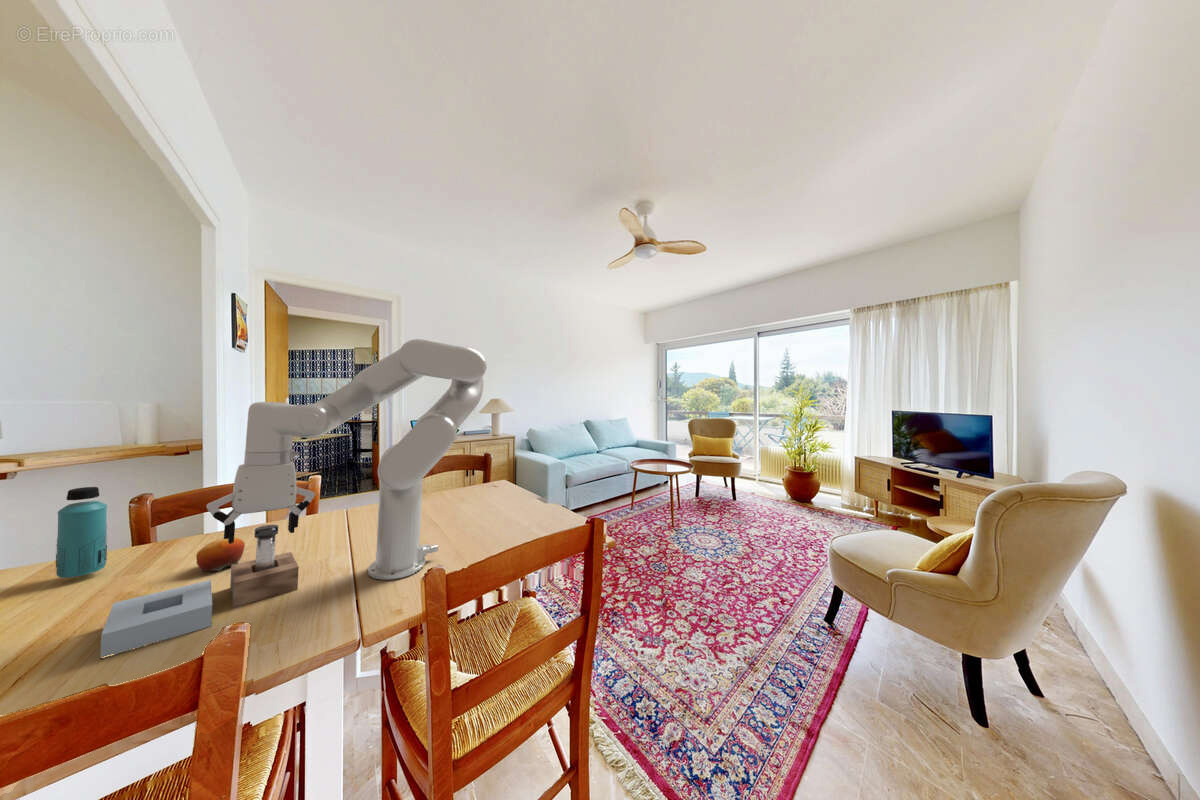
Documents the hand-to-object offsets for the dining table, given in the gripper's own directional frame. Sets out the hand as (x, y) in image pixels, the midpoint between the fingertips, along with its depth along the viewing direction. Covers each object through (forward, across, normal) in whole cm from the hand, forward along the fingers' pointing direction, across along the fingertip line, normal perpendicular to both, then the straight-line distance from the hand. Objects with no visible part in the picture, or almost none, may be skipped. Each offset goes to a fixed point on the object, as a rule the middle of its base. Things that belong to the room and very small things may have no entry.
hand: (262, 536), depth 78 cm
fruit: (+12, +5, -19) cm, 23 cm away
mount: (+12, -1, 0) cm, 12 cm away
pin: (+12, -1, 0) cm, 12 cm away
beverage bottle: (+13, +26, -31) cm, 42 cm away
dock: (+12, +13, +4) cm, 18 cm away
